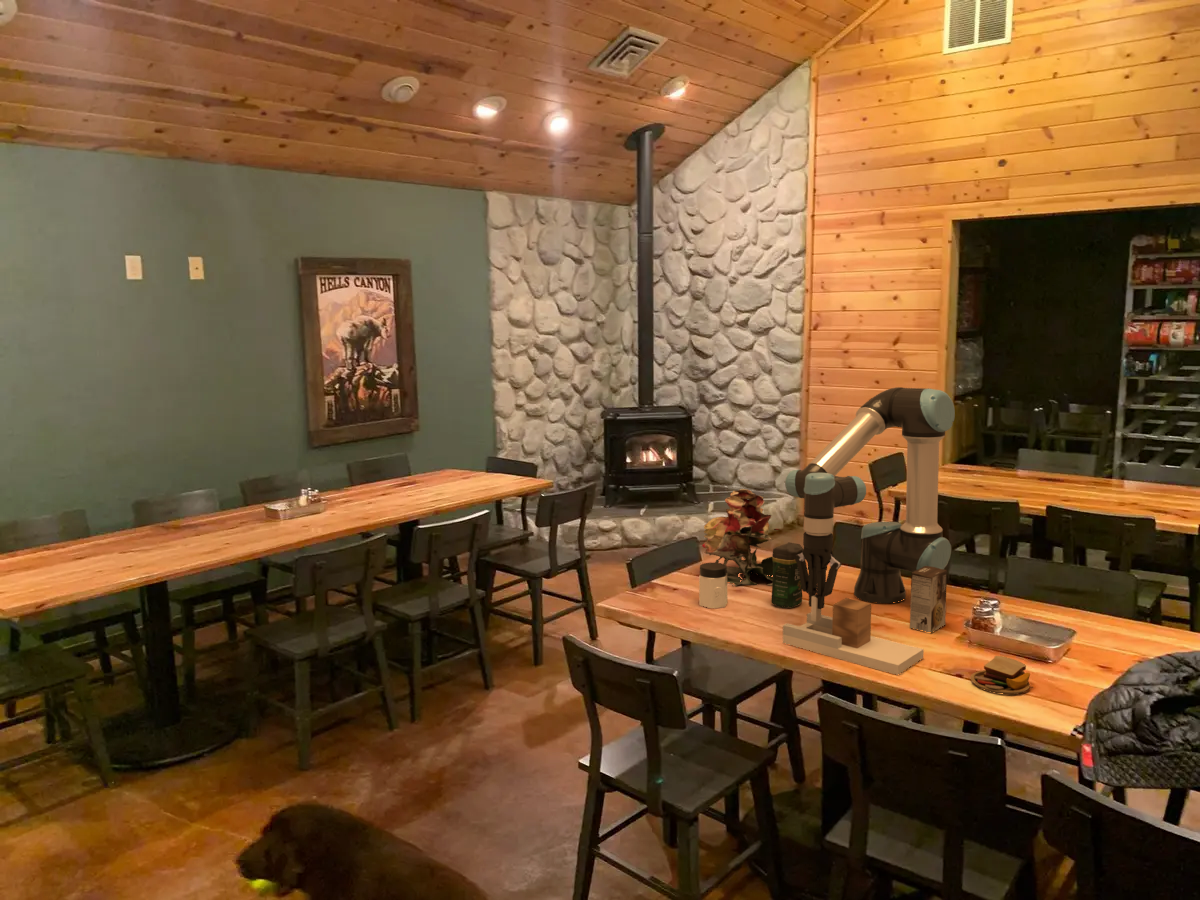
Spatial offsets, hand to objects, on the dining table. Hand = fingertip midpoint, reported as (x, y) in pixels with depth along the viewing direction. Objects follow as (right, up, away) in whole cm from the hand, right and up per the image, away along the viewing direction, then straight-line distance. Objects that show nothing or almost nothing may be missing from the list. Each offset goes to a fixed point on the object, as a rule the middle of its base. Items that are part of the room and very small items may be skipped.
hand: (816, 619), depth 229 cm
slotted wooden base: (+8, -7, -6) cm, 12 cm away
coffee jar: (-1, -2, +32) cm, 32 cm away
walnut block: (+7, -4, -6) cm, 11 cm away
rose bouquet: (-10, +2, +62) cm, 63 cm away
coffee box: (+33, -4, +10) cm, 35 cm away
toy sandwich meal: (+36, -10, -28) cm, 46 cm away
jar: (-23, -2, +33) cm, 41 cm away
